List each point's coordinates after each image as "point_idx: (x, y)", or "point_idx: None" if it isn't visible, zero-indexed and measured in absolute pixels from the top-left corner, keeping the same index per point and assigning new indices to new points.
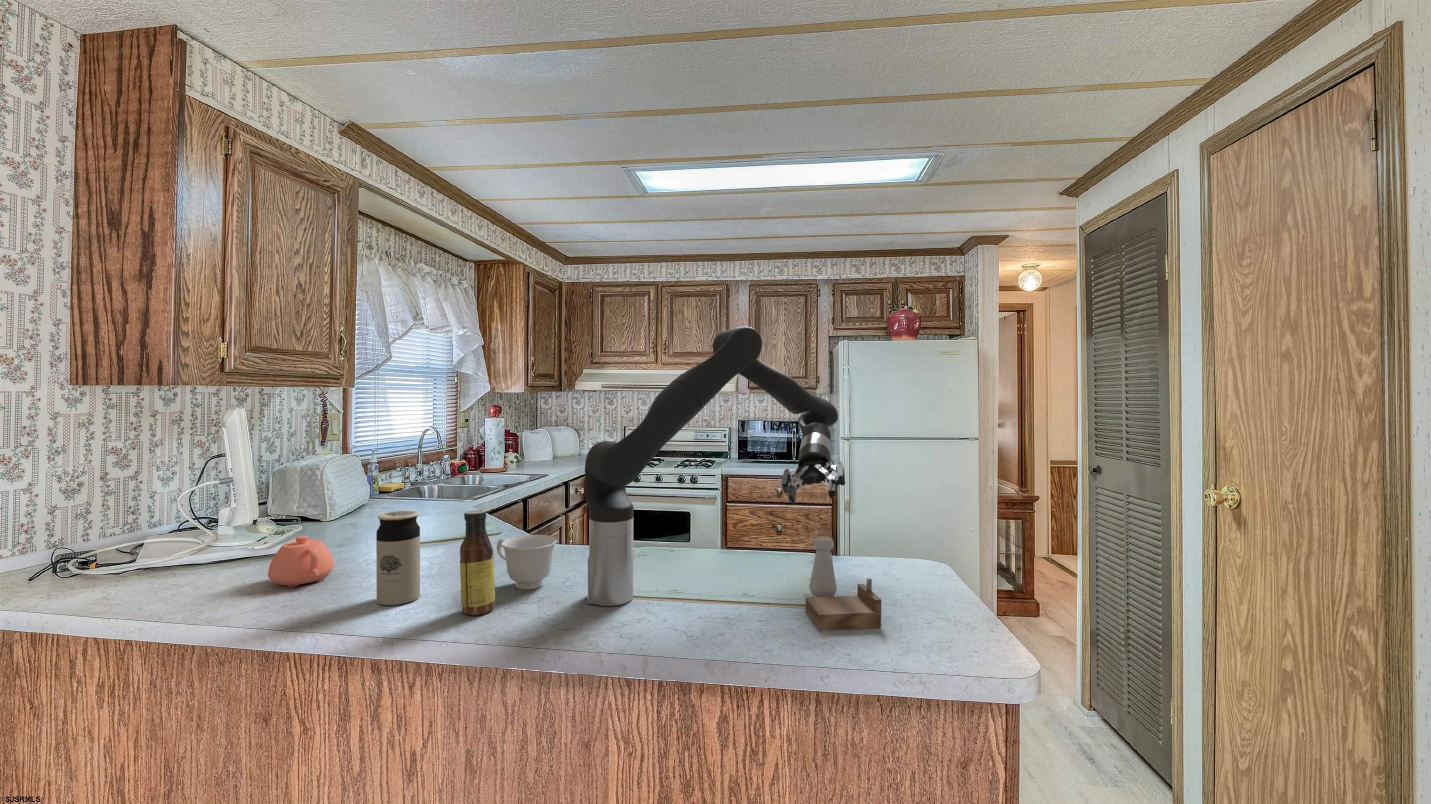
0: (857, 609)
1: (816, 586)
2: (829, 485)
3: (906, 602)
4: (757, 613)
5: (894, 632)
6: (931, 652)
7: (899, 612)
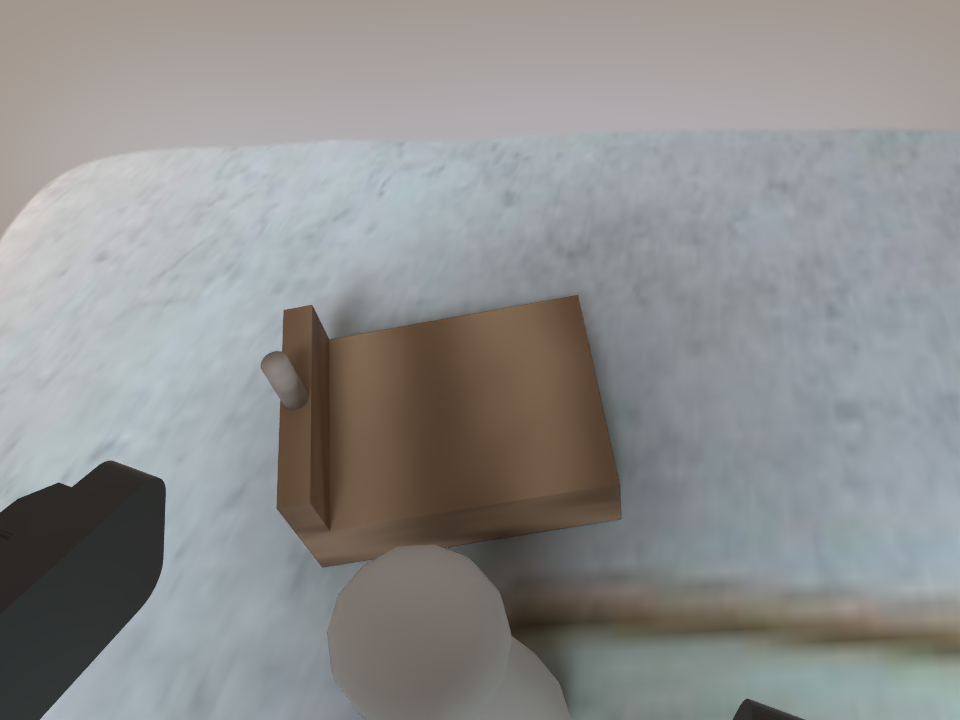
0: (393, 361)
1: (531, 652)
2: (36, 553)
3: None
4: (876, 491)
5: None
6: (240, 237)
7: None
